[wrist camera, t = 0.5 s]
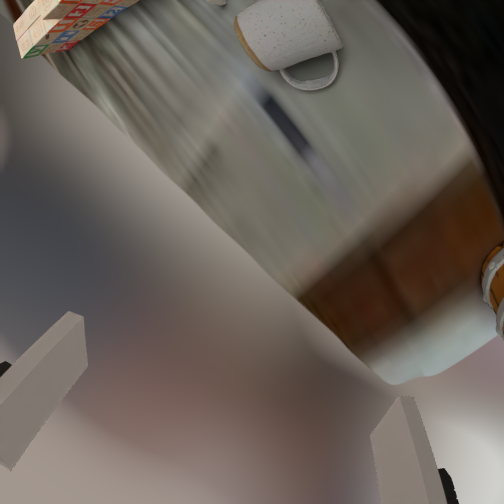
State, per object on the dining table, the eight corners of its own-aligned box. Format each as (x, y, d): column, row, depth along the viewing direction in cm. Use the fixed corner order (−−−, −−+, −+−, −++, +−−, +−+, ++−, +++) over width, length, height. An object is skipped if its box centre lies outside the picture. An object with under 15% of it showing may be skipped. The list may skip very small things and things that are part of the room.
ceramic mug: (243, 20, 28) (217, 11, 22) (311, -12, 24) (301, -31, 18) (288, 101, 32) (273, 111, 26) (358, 73, 28) (362, 76, 22)
